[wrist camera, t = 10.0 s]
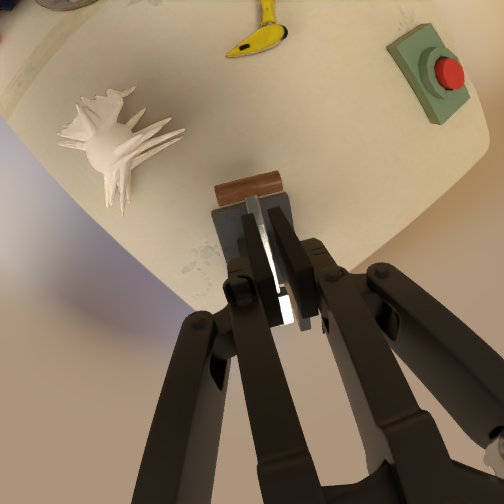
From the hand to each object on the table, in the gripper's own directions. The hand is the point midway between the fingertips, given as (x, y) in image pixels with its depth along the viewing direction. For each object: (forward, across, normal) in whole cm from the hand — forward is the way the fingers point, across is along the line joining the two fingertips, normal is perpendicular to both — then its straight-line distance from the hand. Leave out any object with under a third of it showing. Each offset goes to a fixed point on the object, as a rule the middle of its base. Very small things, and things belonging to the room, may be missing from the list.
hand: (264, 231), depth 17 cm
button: (+13, +27, +9) cm, 31 cm away
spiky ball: (+17, -10, +7) cm, 21 cm away
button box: (+16, +27, +9) cm, 33 cm away
